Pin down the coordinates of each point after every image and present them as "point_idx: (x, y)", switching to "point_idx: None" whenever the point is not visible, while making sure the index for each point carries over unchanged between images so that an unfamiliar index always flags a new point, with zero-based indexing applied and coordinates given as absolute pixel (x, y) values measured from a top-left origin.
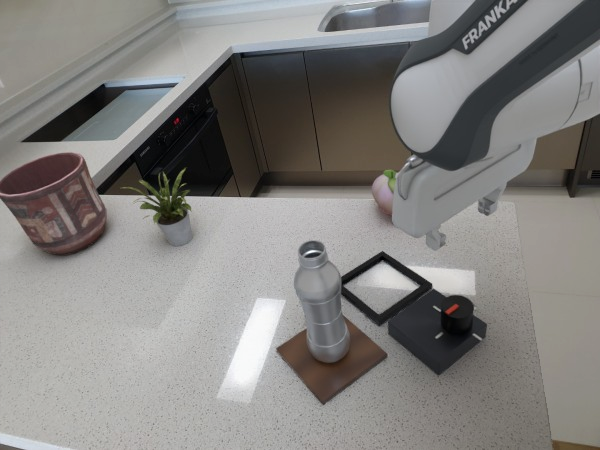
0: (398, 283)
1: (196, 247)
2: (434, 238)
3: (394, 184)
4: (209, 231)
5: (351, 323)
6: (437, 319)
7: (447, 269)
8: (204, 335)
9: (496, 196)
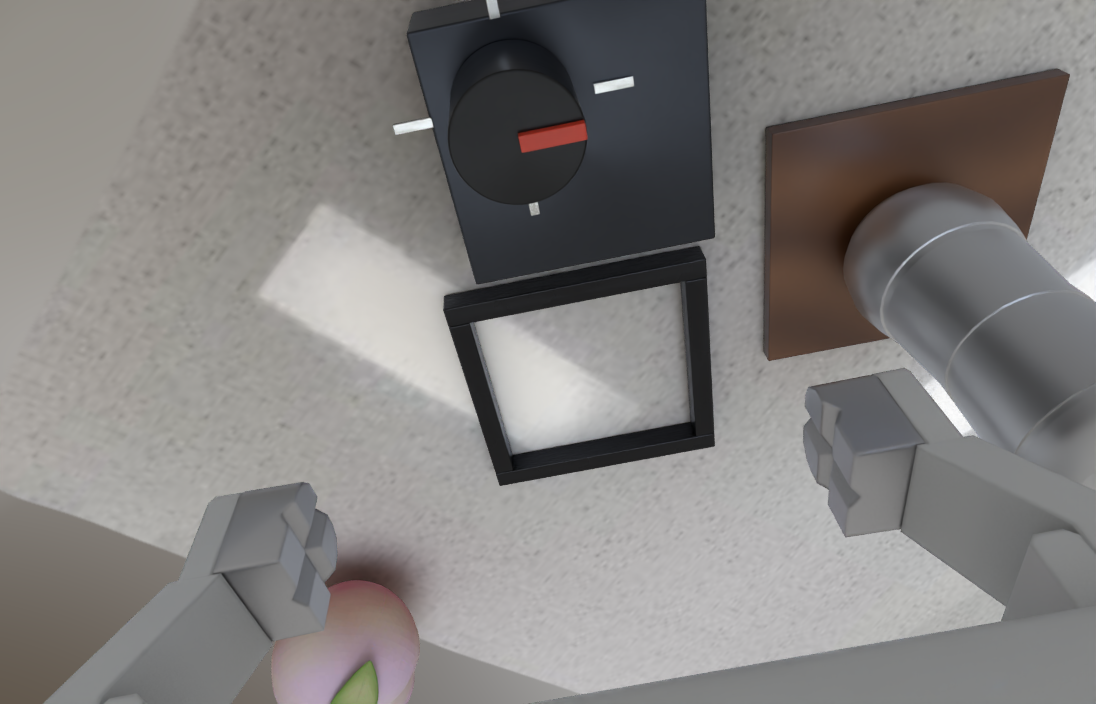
0: (528, 362)
1: None
2: (1018, 461)
3: (357, 701)
4: None
5: (774, 293)
6: None
7: (343, 341)
8: None
9: (183, 626)
